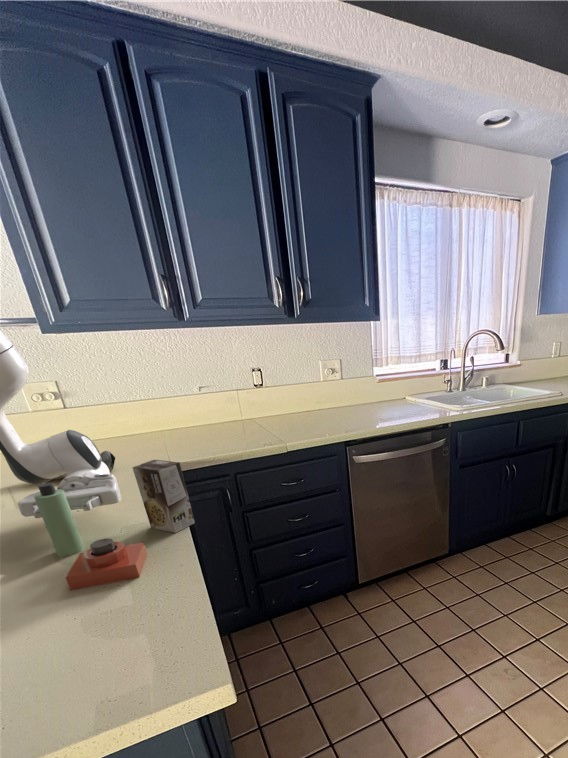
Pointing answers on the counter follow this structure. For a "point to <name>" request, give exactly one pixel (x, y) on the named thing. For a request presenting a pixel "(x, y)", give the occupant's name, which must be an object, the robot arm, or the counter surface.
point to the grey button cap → (102, 547)
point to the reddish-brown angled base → (107, 566)
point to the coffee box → (164, 495)
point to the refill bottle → (58, 520)
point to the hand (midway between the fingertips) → (62, 511)
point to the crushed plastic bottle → (106, 458)
